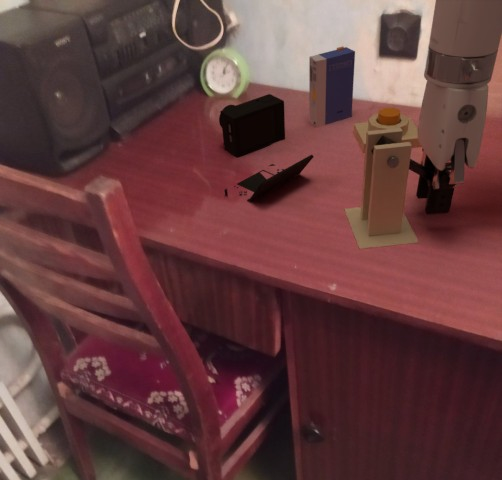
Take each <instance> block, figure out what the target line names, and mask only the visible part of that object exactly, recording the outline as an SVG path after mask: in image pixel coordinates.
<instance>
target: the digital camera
mask: <svg viewBox="0 0 502 480" xmlns="http://www.w3.org/2000/svg"><path fill="white" fill-rule="evenodd" d="M219 112H220V114H219V116H218V117H219V118H218V123H219V126H220V128H221V131H222V139H223V148H224V150H225V151H227V152H228V153H229V154H231V155H233V156H234V157H236V158H239V157H243V156H244V155H247V154H250V153H252V152H255V151H257V150H260V149H263V148H266V147H268V146H271V145H273V144H276V143H278V142H281V141H284V140H285V139H286V126H285V125H286V124H285V123H286V122H285V119H286V118H285V117H286V116H285V101H284V100H283V99H281V98H279V97H277V96H275V95H273V94H272V93H267V94H265V95H262V96H259V97H256V98H253V99H251V100H248V101H244V102H242V103H238V104H236V105H235V104H228V105H226V106H225V107H223V108H222V110H220V111H219Z"/></svg>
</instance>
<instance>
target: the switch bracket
mask: <svg viewBox="0 0 502 480" xmlns="http://www.w3.org/2000/svg"><path fill="white" fill-rule="evenodd" d="M402 134H403V131H402V129H401V128H393V129H384V130H374V131H367V132H366V146H365V153H364V161H363V175H362V188H361V189H362V191H361V203H360V206H356V207H346V208H344V209H343V210H344V213H345V216H346V217H347V221H348V223H349V226H350V228H351V231H352V234H353V237H354V239H355V242H356V244H357V247H358V250H366V249H367V250H368V249H376V248H384V247H394V246H403V245H412V244H413V245H414V244H419V243H420V242H419V239H418V238H417V236H416V233H415V231H414V229H413V228H412V226H411V224H410V222H409V220H408V218H407V216H406V214H405V212H404V210H405V209H404V208H405V202H406V193H407V187H408V179H409V171H410V170H409V164H410V159H411V157H412V156H411V155H412V145H411V143H410V142H404V143H401V142H402ZM382 135H383V136H385V137H387V138H388V139H390V140H392V141H394V142H396V143H394V144H385V145H376V143H377V142H378V141H379V139H380V138H381V137H382ZM375 145H376V146H375ZM373 148H374V153H373V154H372V152H371V150H372V149H373Z"/></svg>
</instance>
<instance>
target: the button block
mask: <svg viewBox="0 0 502 480" xmlns="http://www.w3.org/2000/svg"><path fill="white" fill-rule="evenodd" d="M378 113H379V112H378ZM378 113H374V114H372V115H371V116H370V117H369V119H368V121H363V122H355V123H353V134H354V136H355V139H356V141H357V142H358V145H359V147H360V149H361V151H362V153H363V154H365V146H366V132H367V131H374V130H384V129H393V128H401V129H402V131H403V134H402V142H401V143H404V142H410V143H411V145H412V148H414V149H415V148H422V146H421V145H420V143H419V140H418V126H416V124H415V123H414V121H413V120H412V118H411V117H407V116H406V115H405V114H402V113H400V121H399V124H396V125H391V126H387V125H381V124H379V123H378Z"/></svg>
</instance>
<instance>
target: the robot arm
mask: <svg viewBox="0 0 502 480" xmlns="http://www.w3.org/2000/svg"><path fill="white" fill-rule="evenodd" d="M501 39H502V0H435V3H434V10H433V15H432V22H431V28H430V35H429V41H428V47H427V54H426V58H425V59H426V61H425V67H424V73H423V77H424V79H425V80H426V82H425V83H426V84H425V88H424V92H423V96H422V101H421V106H420V111H419V118H418V125H417V129H418V140H419V143H420V145H421V146H422V147H421V148H422V149H421V151H422V155H421V160H420V164H421V165H423V166H424V167H426V168H428V169H430V170H432V171H434V170H435V171H434V178H433V186H428V179H426V178H424V177H422V176H420V175H419V176H418V182H417V188H416V193H415V197H416V198H417V199H419V200H423V199H426V200H425V201H426V202H425V207H424V212H425V214H426V215H439V214H448V213H449V212H450V211H451V206H452V202H453V198H454V192H455V189H456V188H457V186H458V185H460V184H461V185H462V184H464V183H465V169H466V167H467V168H468V169H474V168H475V167H476V166H477V165H478V161H479V156H480V151H481V147H482V142H483V137H484V130H485V124H486V118H487V112H488V101H489V100H488V99H489V85H488V84H490V82H491V81H492V77H493V73H494V69H495V64H496V60H497V57H498V51H499V47H500V44H501V43H500V42H501ZM446 170H448V171H450V172H451V173H450V174H446V175H443V176H442V177H441V174H442V171H446Z"/></svg>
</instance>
